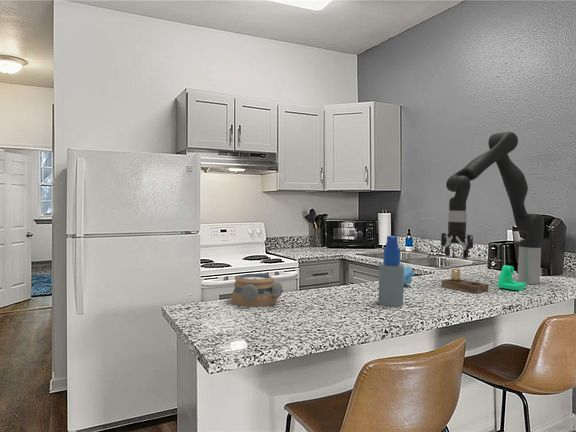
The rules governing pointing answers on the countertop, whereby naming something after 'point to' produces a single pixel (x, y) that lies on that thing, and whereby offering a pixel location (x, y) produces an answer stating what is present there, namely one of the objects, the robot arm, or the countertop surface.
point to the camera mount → (509, 279)
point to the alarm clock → (256, 290)
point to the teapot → (407, 275)
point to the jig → (465, 286)
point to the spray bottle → (391, 275)
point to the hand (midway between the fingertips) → (456, 257)
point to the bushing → (455, 275)
